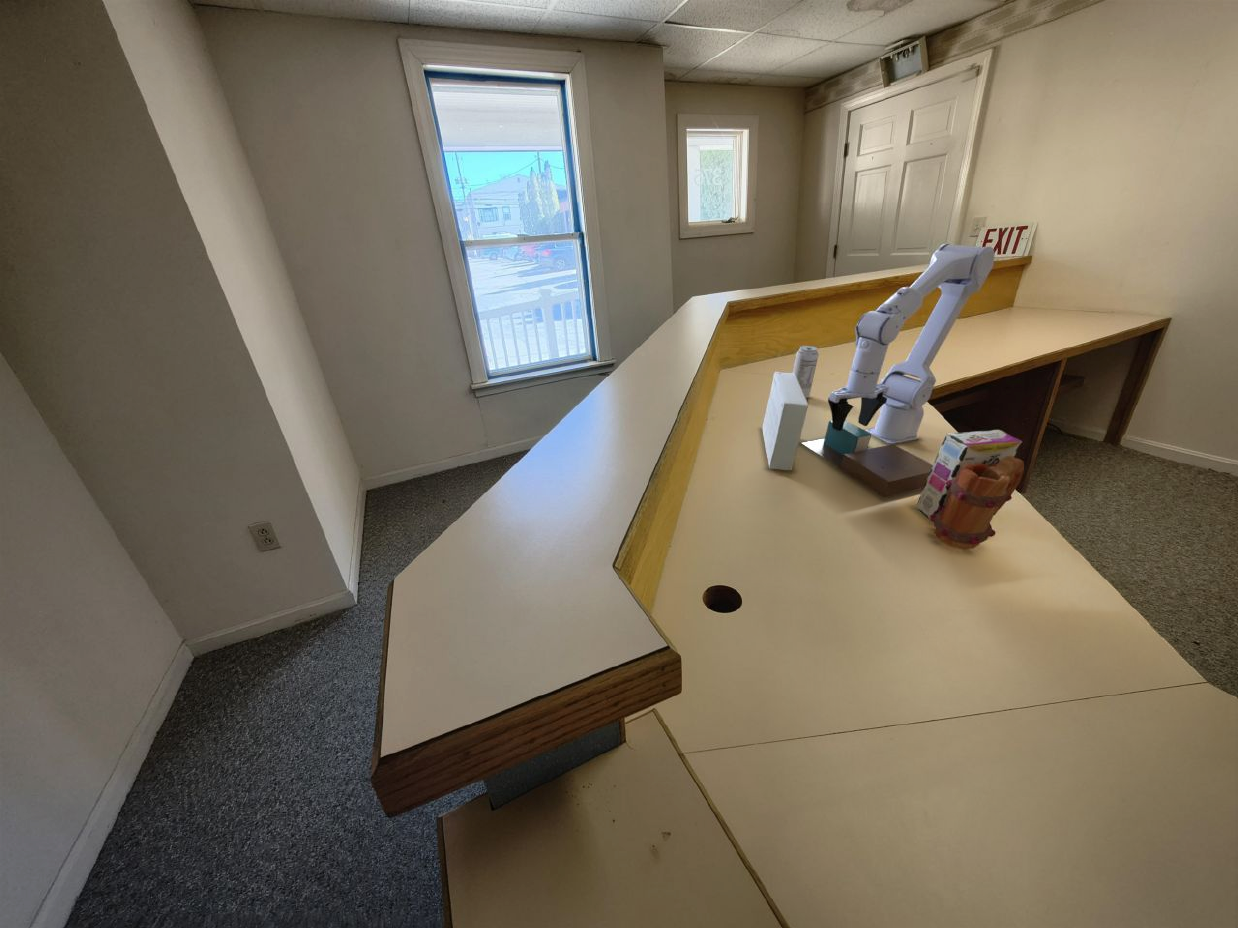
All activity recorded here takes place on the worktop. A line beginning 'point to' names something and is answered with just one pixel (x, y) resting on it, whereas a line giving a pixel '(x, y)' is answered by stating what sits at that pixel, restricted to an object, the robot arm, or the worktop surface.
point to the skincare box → (784, 420)
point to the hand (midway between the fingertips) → (849, 426)
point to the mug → (976, 502)
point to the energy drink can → (805, 367)
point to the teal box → (847, 438)
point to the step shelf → (879, 467)
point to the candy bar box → (962, 463)
